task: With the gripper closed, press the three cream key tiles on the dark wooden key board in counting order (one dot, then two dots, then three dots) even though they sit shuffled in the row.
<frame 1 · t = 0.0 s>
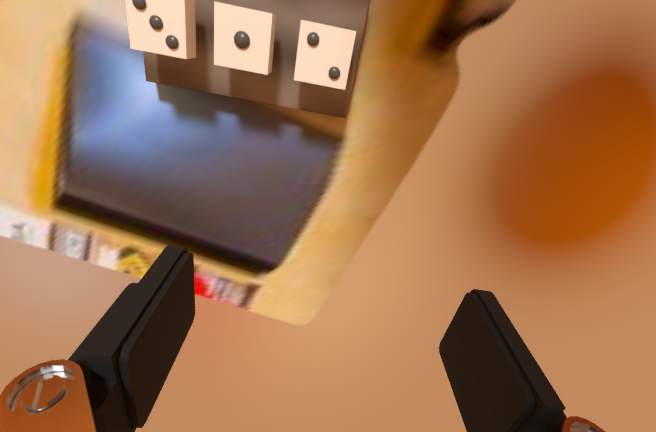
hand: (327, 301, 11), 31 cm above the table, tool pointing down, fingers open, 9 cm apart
one dot tile: (245, 39, 30), point 5 cm above the table, slide at 0.0 cm
three dot tile: (162, 23, 29), point 5 cm above the table, slide at 0.0 cm
two dot tile: (324, 55, 31), point 5 cm above the table, slide at 0.0 cm
key board: (255, 38, 34), on the table
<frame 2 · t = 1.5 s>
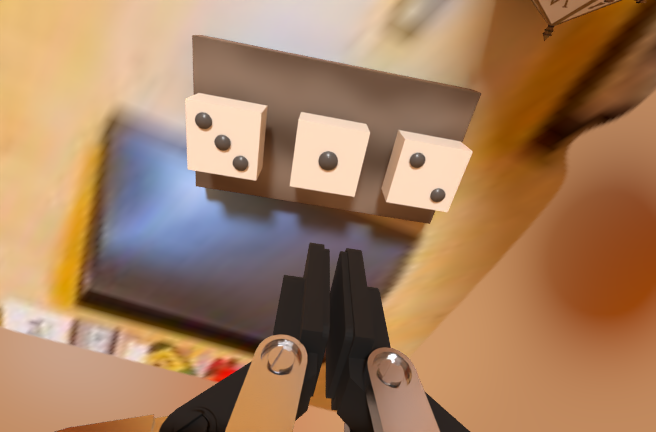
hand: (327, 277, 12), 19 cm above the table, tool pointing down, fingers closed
one dot tile: (328, 155, 24), point 5 cm above the table, slide at 0.0 cm
three dot tile: (227, 137, 24), point 5 cm above the table, slide at 0.0 cm
two dot tile: (423, 172, 25), point 5 cm above the table, slide at 0.0 cm
key board: (328, 136, 29), on the table
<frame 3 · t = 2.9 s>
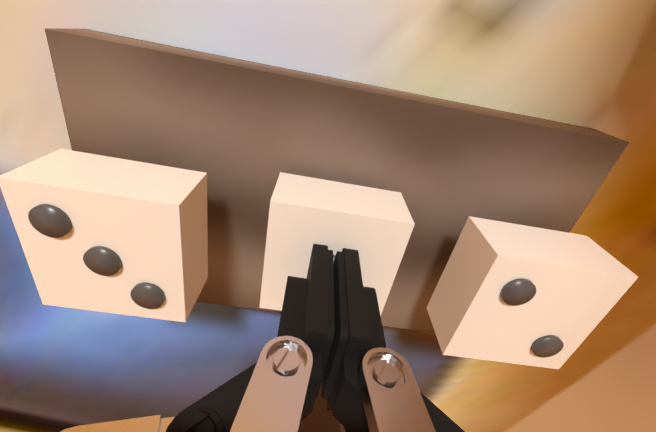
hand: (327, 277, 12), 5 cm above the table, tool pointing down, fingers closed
one dot tile: (330, 251, 13), point 4 cm above the table, slide at 1.2 cm
three dot tile: (124, 239, 11), point 5 cm above the table, slide at 0.0 cm
two dot tile: (516, 296, 13), point 5 cm above the table, slide at 0.0 cm
key board: (330, 205, 17), on the table
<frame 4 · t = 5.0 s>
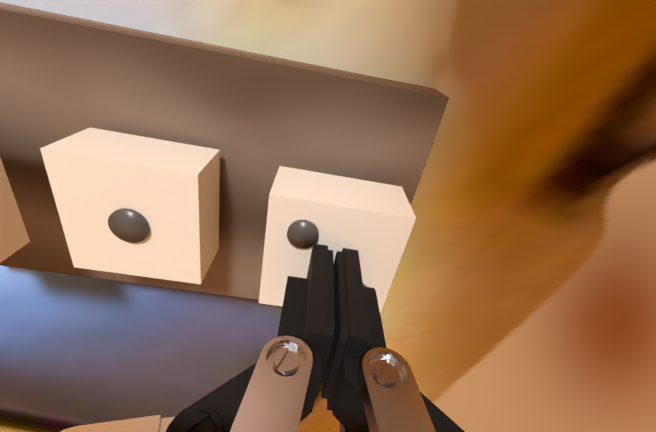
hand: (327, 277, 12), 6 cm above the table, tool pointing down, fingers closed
one dot tile: (146, 209, 13), point 4 cm above the table, slide at 1.4 cm
two dot tile: (330, 245, 13), point 4 cm above the table, slide at 0.8 cm, touching gripper
key board: (183, 172, 16), on the table
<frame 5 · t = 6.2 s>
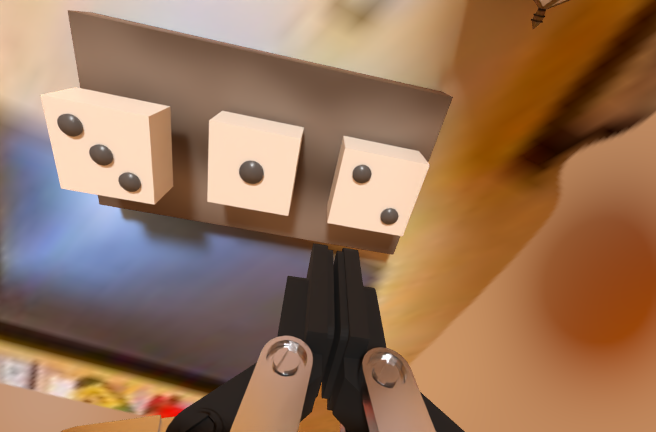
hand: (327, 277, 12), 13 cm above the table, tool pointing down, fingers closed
one dot tile: (255, 164, 20), point 4 cm above the table, slide at 1.4 cm
three dot tile: (115, 147, 18), point 5 cm above the table, slide at 0.0 cm
two dot tile: (373, 187, 20), point 4 cm above the table, slide at 1.4 cm
key board: (266, 146, 23), on the table
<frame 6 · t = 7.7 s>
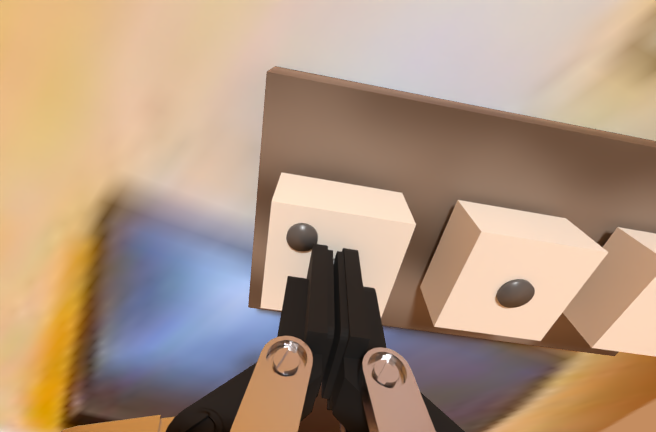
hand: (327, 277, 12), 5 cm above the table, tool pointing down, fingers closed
one dot tile: (500, 273, 14), point 4 cm above the table, slide at 1.4 cm
three dot tile: (331, 251, 13), point 4 cm above the table, slide at 1.1 cm, touching gripper
two dot tile: (655, 296, 15), point 4 cm above the table, slide at 1.4 cm
key board: (468, 227, 17), on the table
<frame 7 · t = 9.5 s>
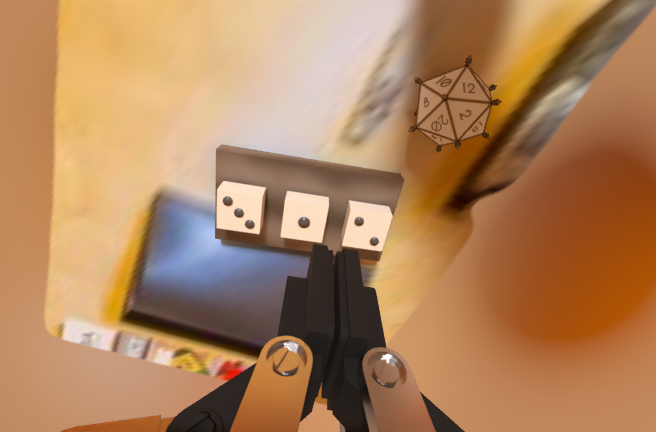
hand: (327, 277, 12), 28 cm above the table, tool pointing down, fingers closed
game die: (439, 101, 36), on the table
one dot tile: (304, 217, 38), point 4 cm above the table, slide at 1.4 cm
three dot tile: (241, 208, 38), point 4 cm above the table, slide at 1.4 cm
two dot tile: (365, 226, 39), point 4 cm above the table, slide at 1.4 cm
key board: (306, 203, 42), on the table
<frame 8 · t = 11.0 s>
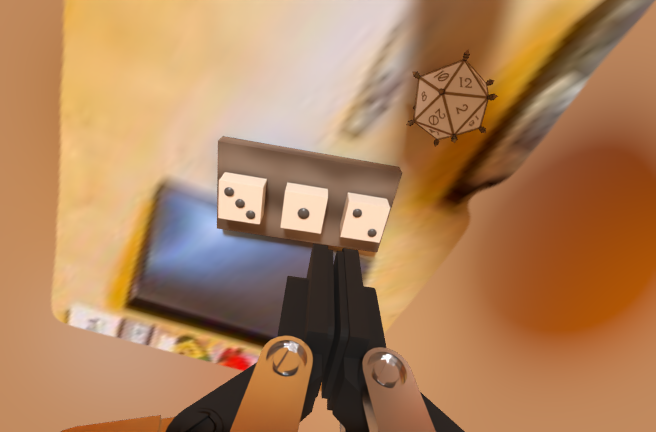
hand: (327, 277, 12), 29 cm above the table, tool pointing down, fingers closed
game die: (437, 96, 37), on the table
one dot tile: (304, 208, 39), point 4 cm above the table, slide at 1.4 cm
three dot tile: (242, 198, 39), point 4 cm above the table, slide at 1.4 cm
two dot tile: (363, 218, 40), point 4 cm above the table, slide at 1.4 cm
key board: (306, 195, 43), on the table
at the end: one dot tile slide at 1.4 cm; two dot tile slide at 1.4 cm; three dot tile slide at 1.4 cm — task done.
